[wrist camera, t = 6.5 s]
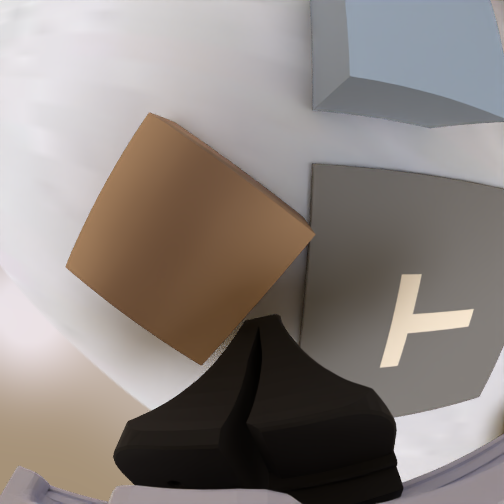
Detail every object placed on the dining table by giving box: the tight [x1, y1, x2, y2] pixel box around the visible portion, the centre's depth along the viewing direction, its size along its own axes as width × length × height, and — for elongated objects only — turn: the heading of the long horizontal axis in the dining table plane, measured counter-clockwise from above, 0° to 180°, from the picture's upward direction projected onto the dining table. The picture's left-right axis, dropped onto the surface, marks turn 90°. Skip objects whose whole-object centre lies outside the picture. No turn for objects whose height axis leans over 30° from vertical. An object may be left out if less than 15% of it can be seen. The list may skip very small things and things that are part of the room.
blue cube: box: [310, 0, 504, 128], centre depth 7 cm, size 5×5×5 cm
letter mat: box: [299, 164, 504, 418], centre depth 12 cm, size 13×13×1 cm
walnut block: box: [66, 112, 316, 365], centre depth 10 cm, size 6×6×3 cm
